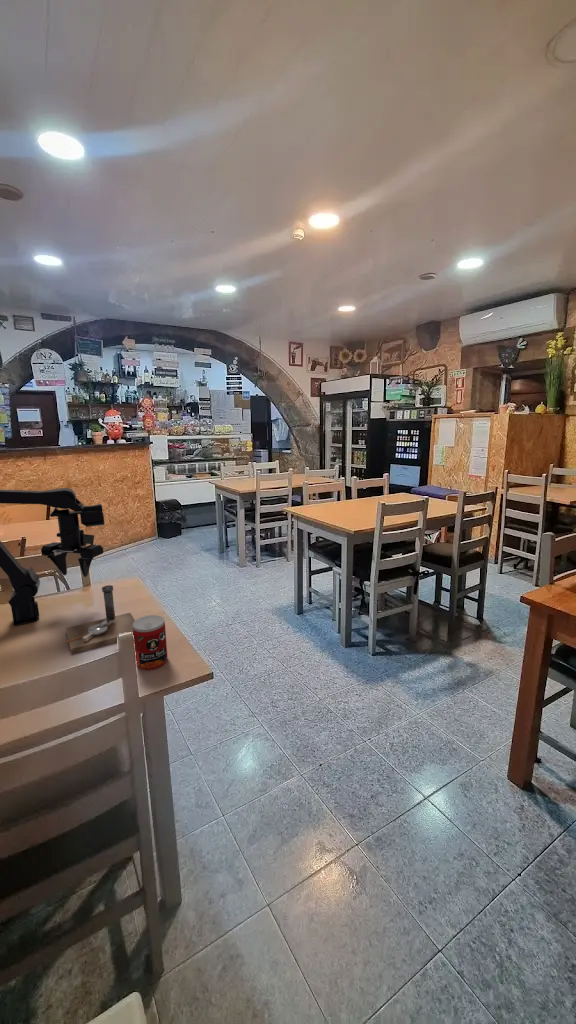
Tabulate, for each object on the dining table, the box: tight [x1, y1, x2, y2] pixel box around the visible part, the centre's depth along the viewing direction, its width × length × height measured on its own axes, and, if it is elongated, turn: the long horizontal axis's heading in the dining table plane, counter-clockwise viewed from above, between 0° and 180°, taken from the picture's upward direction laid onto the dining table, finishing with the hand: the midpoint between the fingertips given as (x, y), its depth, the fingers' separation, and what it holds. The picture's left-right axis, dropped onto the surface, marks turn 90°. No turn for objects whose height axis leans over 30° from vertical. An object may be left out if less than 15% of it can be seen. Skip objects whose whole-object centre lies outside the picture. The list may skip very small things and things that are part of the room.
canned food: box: [133, 614, 168, 671], centre depth 105 cm, size 8×8×11 cm
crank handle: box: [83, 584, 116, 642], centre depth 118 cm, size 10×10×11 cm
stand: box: [65, 612, 136, 655], centre depth 120 cm, size 19×14×2 cm
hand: (75, 575), depth 134 cm, fingers open, 7 cm apart
